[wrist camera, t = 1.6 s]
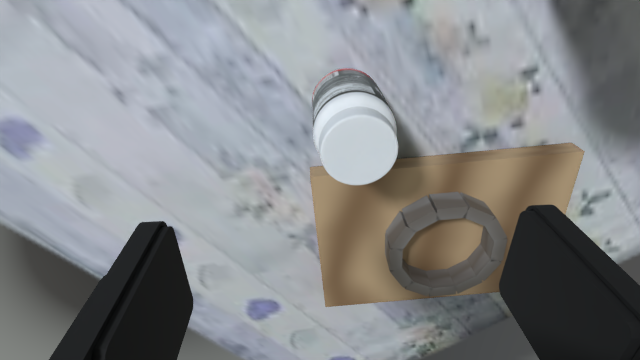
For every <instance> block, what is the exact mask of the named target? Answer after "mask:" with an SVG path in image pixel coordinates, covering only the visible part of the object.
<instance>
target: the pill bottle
mask: <svg viewBox="0 0 640 360" xmlns="http://www.w3.org/2000/svg"><path fill="white" fill-rule="evenodd" d="M312 113H313V139H314V144H315V147H316V149H317V151H318V153H319V155H320V157H321V162H322V164H323V166H324V168H325V170H326V171H327V172H328V174H329V175H330V176H331V177H333V178H334V179H335V180H337V181H339V182H341V183H344V184H348V185H365V184H369V183H372V182H374V181H377V180H378V179H380V178H382V177H383V176H384V175H385V174H386V173H388V172H389V170H390V169H391V168H392V166H393V165H394V163H395V161H396V158H397V155H398V140H397V137H396V134H397V126H396V121H395V118H394V115H393V113H392V111H391V109H390V107H389V106H388V104H387V103H386V101H385V99H384V97H383V96H382V94H381V92H380V90H379V89H378V87H377V85H376V83H375V82H374V81H373V79H372V78H371V77H370V76H369V75H367V74H366V73H364V72H362V71H360V70H357V69H352V68H341V69H337V70H334V71H332V72H330V73H328V74H327V75H325V76H324V77H323V78H322V79H321V80H320V81H319V83H318V84H317V86H316V87H315V90H314V93H313V97H312Z"/></svg>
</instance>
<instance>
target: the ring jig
mask: <svg viewBox="0 0 640 360" xmlns="http://www.w3.org/2000/svg"><path fill="white" fill-rule="evenodd" d="M584 152H585V151H583V150H582V149H580V148H579V147H577V146H576V145H574V144H573V143H564V144H553V145H542V146H532V147H521V148H510V149H499V150H489V151H478V152H467V153H456V154H446V155H435V156H424V157H414V158H403V159H396V161H395V163H394V165H393V166H392V168H391V169H390V170H389V172H388V173H386V174H385V175H384V176H383V177H382V178H380V179H378V180H377V181H374V182H372V183H369V184H365V185H348V184H344V183H341V182H339V181H337V180H335V179H334V178H333V177H331V176H330V175H329V174H328V172H327V171H326V170H325V168H324V166H317V167H310V179H311V187H312V196H313V204H314V213H315V221H316V230H317V238H318V247H319V255H320V264H321V272H322V281H323V289H324V298H325V306H326V307H331V306H342V305H354V304H365V303H377V302H388V301H400V300H411V299H423V298H434V297H446V296H458V295H469V294H481V293H492V292H500V291H499V281H500V278H501V275H502V271H503V268H504V265H505V261H506V258H507V255H508V251H509V248H510V245H511V241H512V238H513V235H514V232H515V228H516V225H517V222H518V218H519V215H520V213H521V212H522V211H525V210H526V208H527V207H528V206H531V205H550V204H551V205H554V206H556V207H557V208H558V209H559V210H560V211H561V212H562V213H564V214H565V213H566V210H567V207H568V204H569V200H570V197H571V194H572V191H573V187H574V184H575V181H576V178H577V174H578V171H579V168H580V165H581V161H582V158H583V155H584Z"/></svg>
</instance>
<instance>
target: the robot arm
mask: <svg viewBox="0 0 640 360" xmlns="http://www.w3.org/2000/svg"><path fill="white" fill-rule="evenodd" d="M499 291H500V294H501V296H502V298H503V300H504V301H505V303H506V305H507V306H508V308H509V310H510V311H511V313H512V314H513V316H514V318H515V319H516V321H517V323H518V324H519V326H520V328H521V329H522V331H523V333H524V334H525V336H526V338H527V339H528V341H529V343H530V344H531V346H532V348H533V349H534V351H535V353H536V354H537V356H538V358H539V359H540V360H640V285H638V284H637V283H636V282H635V281H634V280H633V279H632V278H631V277H630V276H629V275H628V274H627V273H626V272H625V271H624V270H623V269H622V268H621V267H619V266H618V265H617V264H616V263H615V262H614V261H613V260H612V259H611V258H610V257H609V256H608V255H607V254H606V253H605V252H604V251H603V250H602V249H600V248H599V247H598V246H597V245H596V244H595V243H594V242H593V241H592V240H591V239H590V238H589V237H588V236H587V235H586V234H585V233H584V232H583V231H581V230H580V229H579V228H578V227H577V226H576V225H575V224H574V223H573V222H572V221H571V220H570V219H569V218H568V217H567V216H566V215H565V214H564V213H562V212H561V211H560V210H559V209H558V208H557V207H556V206H554V205H551V204H550V205H531V206H528V207H527V208H526V210H525V211H522V212H521V213H520V215H519V218H518V222H517V225H516V228H515V232H514V235H513V238H512V241H511V245H510V248H509V251H508V255H507V258H506V261H505V265H504V268H503V271H502V275H501V278H500V281H499ZM192 310H193V296H192V293H191V289H190V286H189V282H188V279H187V275H186V271H185V268H184V264H183V261H182V257H181V253H180V250H179V246H178V243H177V239H176V236H175V232H174V229H173V228H172V227H171V226H170V227H167V225H166V223H165V222H163V221H159V222H142V223H140V224H139V225H138V226H137V228H136V229H135V231H134V232H133V234H132V235H131V237H130V239H129V240H128V242H127V243H126V245H125V246H124V248H123V249H122V251H121V253H120V254H119V256H118V257H117V259H116V260H115V262H114V264H113V265H112V267H111V268H110V270H109V271H108V273H107V275H105V276H104V277H103V278H102V279H101V280H100V281H99V283H98V285H97V286H96V288H95V289H94V291H93V292H92V294H91V296H90V297H89V298H88V300H87V302H86V303H85V305H84V306H83V308H82V309H81V311H80V312H79V314H78V316H77V317H76V319H75V320H74V322H73V323H72V325H71V326H70V328H69V329H68V331H67V333H66V334H65V336H64V337H63V339H62V340H61V342H60V343H59V345H58V347H57V348H56V350H55V351H54V353H53V354H52V356H51V357H50V359H49V360H177V357H178V354H179V350H180V347H181V344H182V341H183V338H184V335H185V332H186V329H187V326H188V323H189V320H190V316H191V313H192Z"/></svg>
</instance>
